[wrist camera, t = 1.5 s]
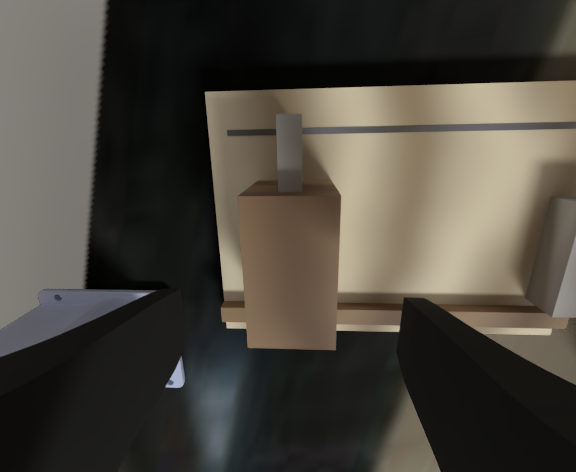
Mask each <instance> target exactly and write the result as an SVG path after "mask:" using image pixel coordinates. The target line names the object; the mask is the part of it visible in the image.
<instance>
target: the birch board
mask: <svg viewBox="0 0 576 472" xmlns="http://www.w3.org/2000/svg"><path fill="white" fill-rule="evenodd" d="M205 100H206V111H207V121H208V132H209V143H210V153H211V164H212V175H213V185H214V196H215V207H216V217H217V228H218V239H219V249H220V260H221V271H222V281H223V292H224V303H223V304H222V306H221V315H222V322H226V324H227V328H245V329H247V328H246V314H245V300H244V286H243V272H242V257H241V243H240V229H239V215H238V201H237V196H238V195H240V194H241V193H242V192H244V191H245V190H246V189H247V188H249V187H250V186H251V185H253V184H254V183H255V182H257V181H268V180H278V170H277V135H276V114H302V180H331V181H332V182H333V184H334V185H335V187H336V188H337V190H338V191H339V193H340V194H341V217H340V244H339V272H338V299H337V326H336V330H337V331H383V332H399V329H400V322H401V315H402V307H403V300H404V297H413V298H425V299H427V300H429V301H431V302H433V303H434V304H436V305H438V306H439V307H441V308H442V309H444V310H446V311H447V312H449V313H450V314H452V315H453V316H455V317H457V318H458V319H460V320H461V321H463V322H464V323H466V324H467V325H469V326H471V327H472V328H474V329H475V330H477V331H478V332H480V333H482V334H521V335H551V331H552V329H566V326H567V323H568V320H569V318H576V80H575V81H542V82H510V83H477V84H445V85H412V86H379V87H347V88H314V89H282V90H249V91H216V92H205Z"/></svg>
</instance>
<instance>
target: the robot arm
mask: <svg viewBox="0 0 576 472" xmlns="http://www.w3.org/2000/svg"><path fill="white" fill-rule="evenodd" d="M60 296H61V297H60ZM38 299H39V302H40V306H38V307H36V308H35V309H33V310H31V311H30V312H28V313H27V314H25V315H23V316H22V317H20V318H18V319H17V320H15V321H14V322H12V323H10V324H8V325H7V326H5V327H4V328H2V329H1V330H0V472H117V471H118V469H119V467H120V465H121V463H122V461H123V459H124V457H125V455H126V453H127V451H128V450H129V448H130V446H131V444H132V442H133V440H134V439H135V437H136V435H137V434H138V432H139V430H140V429H141V427H142V425H143V424H144V422H145V420H146V418H147V417H148V415H149V413H150V412H151V410H152V408H153V407H154V405H155V403H156V402H157V400H158V398H159V397H160V395H161V393H162V392H163V390H164V388H165V387H174V388H179V387H182V386H183V384H184V382H185V376H184V369H183V363H182V353H183V351H184V348H185V346H186V343H187V335H186V328H185V320H184V312H183V305H182V297H181V289H160V290H89V289H44V290H42V291H40V292H39V293H38ZM396 352H397V356H398V360H399V364H400V367H401V371H402V375H403V378H404V382H405V384H406V387H407V390H408V392H409V395H410V397H411V400H412V402H413V404H414V407H415V409H416V412H417V414H418V417H419V419H420V422H421V424H422V426H423V429H424V431H425V434H426V436H427V438H428V441H429V443H430V446H431V448H432V451H433V453H434V455H435V458H436V460H437V463H438V466H439V468H440V471H441V472H576V385H574V384H572V383H570V382H568V381H566V380H564V379H562V378H560V377H558V376H556V375H554V374H552V373H550V372H548V371H546V370H545V369H543V368H541V367H539V366H537V365H535V364H533V363H531V362H530V361H528V360H526V359H524V358H522V357H521V356H519V355H517V354H515V353H514V352H512V351H510V350H508V349H507V348H505V347H503V346H501V345H500V344H498V343H496V342H495V341H493V340H492V339H490V338H488V337H487V336H485V335H483V334H482V333H480V332H478V331H477V330H475V329H474V328H472V327H471V326H469V325H467V324H466V323H464V322H463V321H461V320H460V319H458V318H457V317H455V316H453V315H452V314H450V313H449V312H447V311H446V310H444V309H442V308H441V307H439V306H438V305H436V304H434V303H433V302H431V301H429V300H427V299H425V298H413V297H404V300H403V307H402V315H401V322H400V329H399V337H398V344H397V351H396ZM171 380H172V381H171Z"/></svg>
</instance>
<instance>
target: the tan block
mask: <svg viewBox="0 0 576 472" xmlns="http://www.w3.org/2000/svg"><path fill="white" fill-rule="evenodd" d="M276 135H277V170H278V180H268V181H257V182H255V183H254V184H253V185H251V186H250V187H249V188H247V189H246V190H245V191H244V192H242V193H241V194H240V195H238V196H237V201H238V215H239V229H240V243H241V257H242V272H243V286H244V300H245V314H246V328H247V343H248V348H277V349H315V350H336V326H337V299H338V272H339V244H340V217H341V194H340V193H339V191H338V190H337V188H336V187H335V185H334V184H333V182H332V181H331V180H302V114H276Z"/></svg>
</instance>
